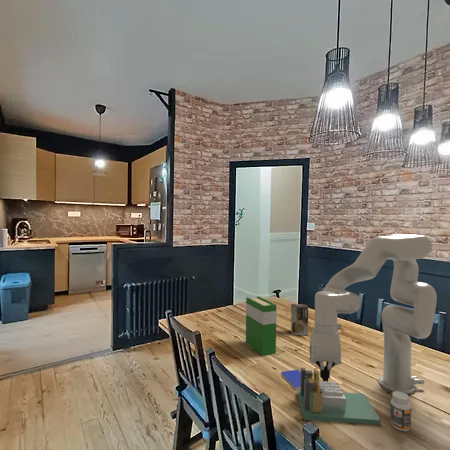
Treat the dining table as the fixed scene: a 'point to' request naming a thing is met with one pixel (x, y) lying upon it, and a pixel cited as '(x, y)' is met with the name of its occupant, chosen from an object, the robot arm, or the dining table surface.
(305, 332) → the coffee box
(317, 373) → the tan notched block
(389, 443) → the dining table surface
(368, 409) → the board
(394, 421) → the pill bottle
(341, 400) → the heatsink
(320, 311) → the robot arm
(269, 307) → the hardback book
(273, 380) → the dining table surface
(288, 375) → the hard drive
